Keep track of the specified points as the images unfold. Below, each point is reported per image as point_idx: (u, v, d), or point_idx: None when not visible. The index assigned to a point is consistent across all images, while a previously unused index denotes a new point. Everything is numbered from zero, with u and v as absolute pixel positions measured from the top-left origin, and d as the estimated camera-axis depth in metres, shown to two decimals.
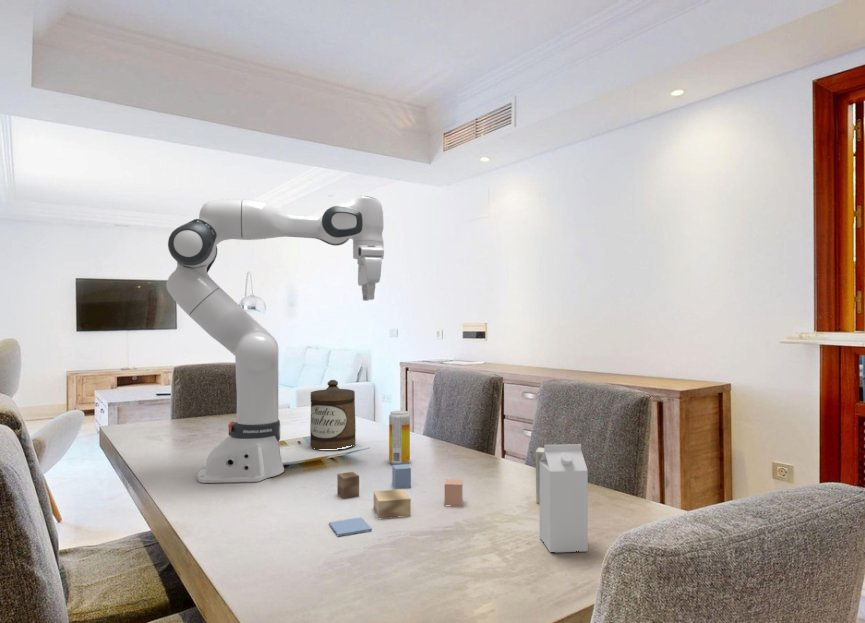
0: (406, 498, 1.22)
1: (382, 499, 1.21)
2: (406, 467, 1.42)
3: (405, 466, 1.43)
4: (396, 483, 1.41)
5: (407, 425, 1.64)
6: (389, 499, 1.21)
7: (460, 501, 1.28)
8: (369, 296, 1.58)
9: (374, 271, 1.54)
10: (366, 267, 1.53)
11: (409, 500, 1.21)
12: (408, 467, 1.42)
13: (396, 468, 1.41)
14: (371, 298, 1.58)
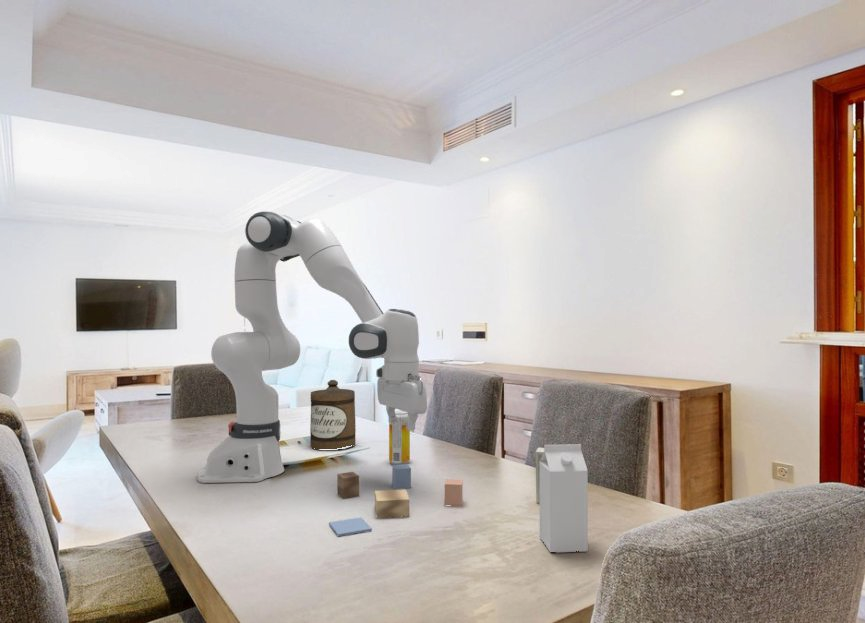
0: (404, 498, 1.21)
1: (381, 499, 1.21)
2: (406, 467, 1.42)
3: (405, 466, 1.43)
4: (396, 483, 1.41)
5: None
6: (388, 499, 1.21)
7: (460, 501, 1.28)
8: None
9: None
10: None
11: (408, 501, 1.21)
12: (408, 467, 1.42)
13: (396, 468, 1.41)
14: None
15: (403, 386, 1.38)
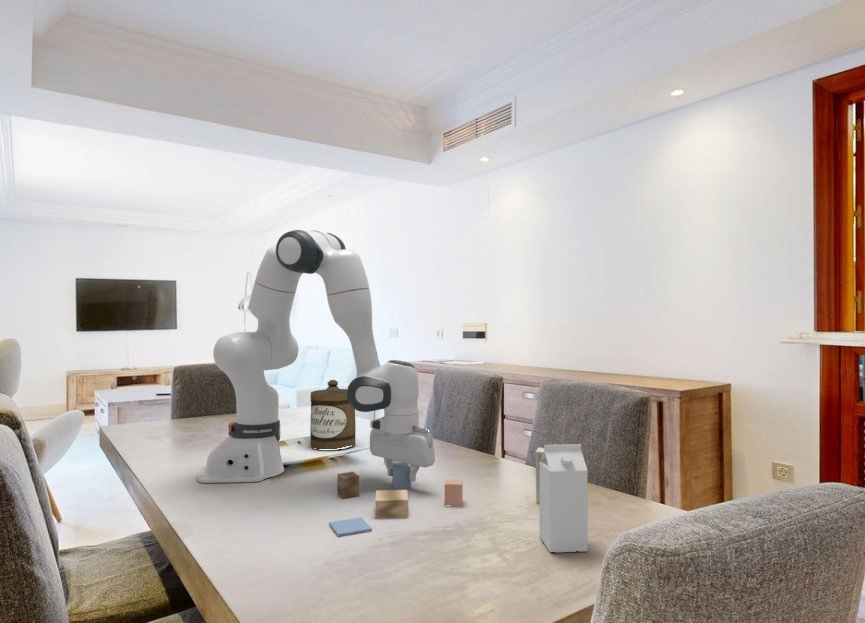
0: (403, 499, 1.21)
1: (380, 499, 1.21)
2: (406, 467, 1.42)
3: (405, 466, 1.43)
4: (396, 483, 1.41)
5: None
6: (386, 499, 1.21)
7: (460, 501, 1.28)
8: None
9: None
10: None
11: (406, 501, 1.21)
12: (408, 467, 1.42)
13: (396, 468, 1.41)
14: None
15: (409, 439, 1.39)
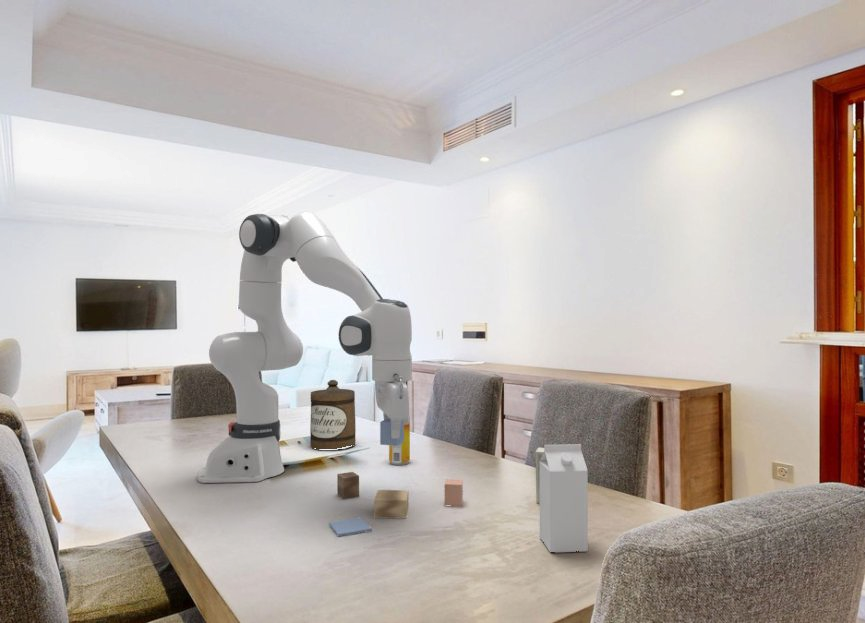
0: (402, 499, 1.21)
1: (379, 498, 1.21)
2: None
3: None
4: (381, 438, 1.23)
5: (407, 425, 1.63)
6: (385, 499, 1.21)
7: (460, 501, 1.28)
8: None
9: None
10: None
11: (405, 502, 1.20)
12: None
13: (383, 421, 1.23)
14: None
15: (387, 388, 1.19)
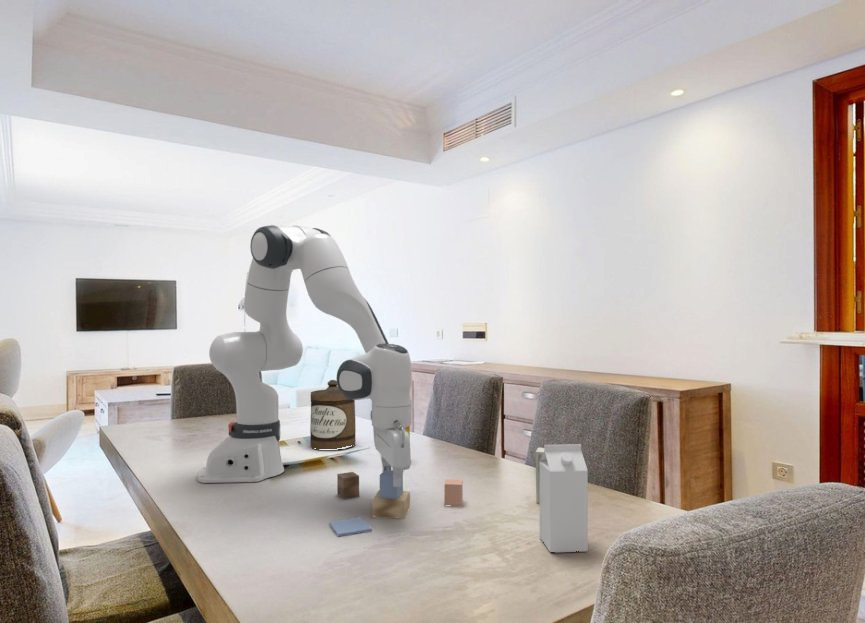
0: (400, 500, 1.21)
1: (378, 498, 1.22)
2: None
3: None
4: (380, 491, 1.22)
5: None
6: (384, 499, 1.21)
7: (460, 501, 1.28)
8: None
9: None
10: None
11: (403, 502, 1.20)
12: None
13: (382, 474, 1.23)
14: None
15: (388, 435, 1.19)
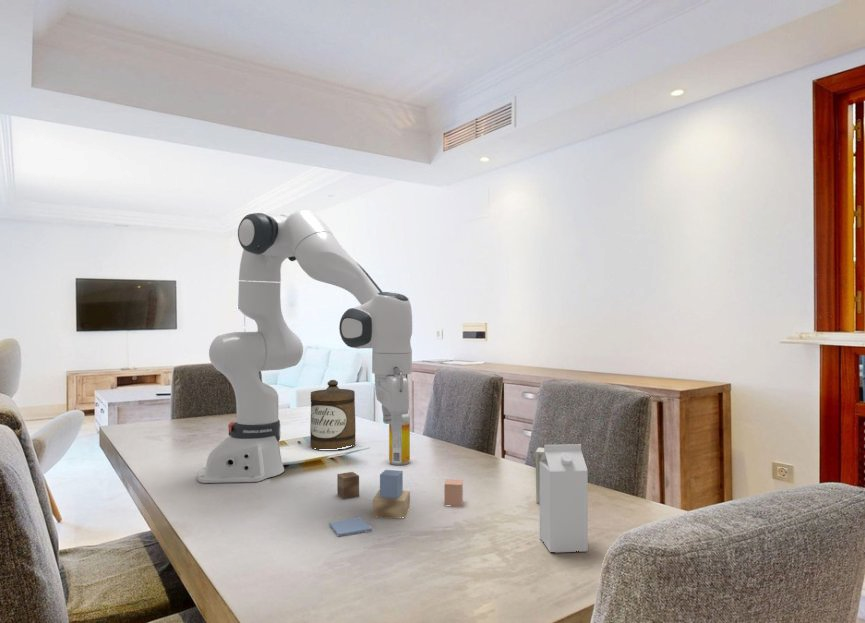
0: (400, 499, 1.21)
1: (378, 498, 1.22)
2: (394, 474, 1.23)
3: (395, 473, 1.23)
4: (381, 491, 1.22)
5: (407, 425, 1.63)
6: (384, 499, 1.21)
7: (460, 501, 1.28)
8: None
9: None
10: None
11: (403, 502, 1.20)
12: (397, 474, 1.22)
13: (382, 474, 1.23)
14: None
15: (387, 381, 1.19)
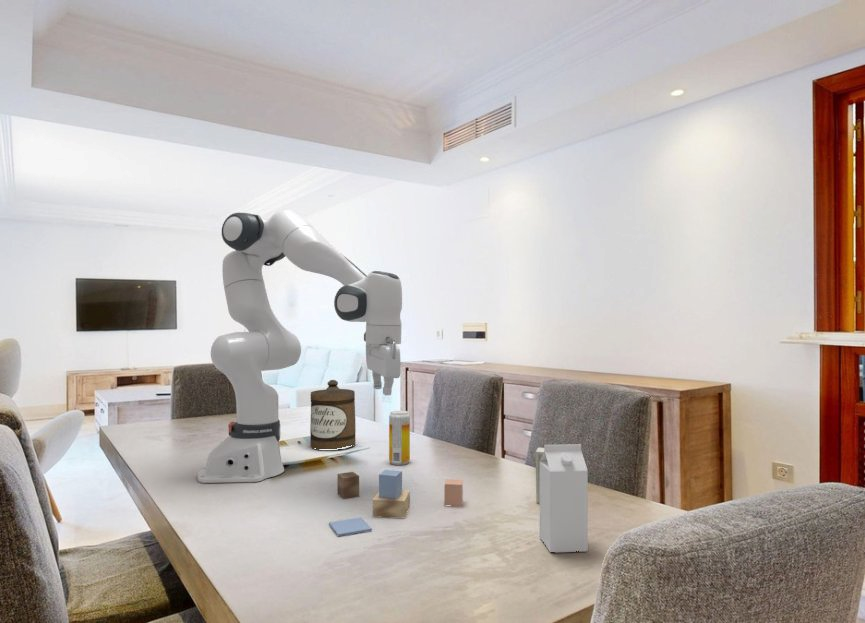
0: (400, 499, 1.21)
1: (378, 498, 1.22)
2: (393, 474, 1.23)
3: (394, 473, 1.23)
4: (380, 491, 1.22)
5: (407, 425, 1.63)
6: (384, 499, 1.21)
7: (460, 501, 1.28)
8: None
9: None
10: None
11: (403, 502, 1.20)
12: (396, 474, 1.22)
13: (382, 474, 1.23)
14: None
15: (380, 349, 1.35)
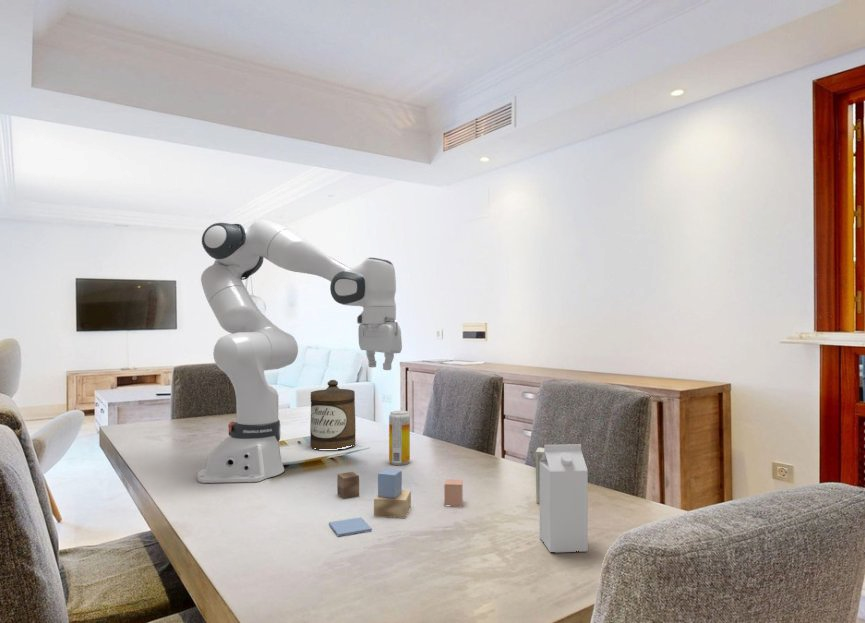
0: (402, 499, 1.21)
1: (379, 497, 1.22)
2: (392, 473, 1.23)
3: (393, 472, 1.24)
4: (379, 490, 1.23)
5: (407, 425, 1.64)
6: (385, 498, 1.22)
7: (460, 501, 1.28)
8: None
9: None
10: None
11: (404, 501, 1.21)
12: (395, 474, 1.23)
13: (381, 473, 1.23)
14: None
15: (380, 328, 1.47)
